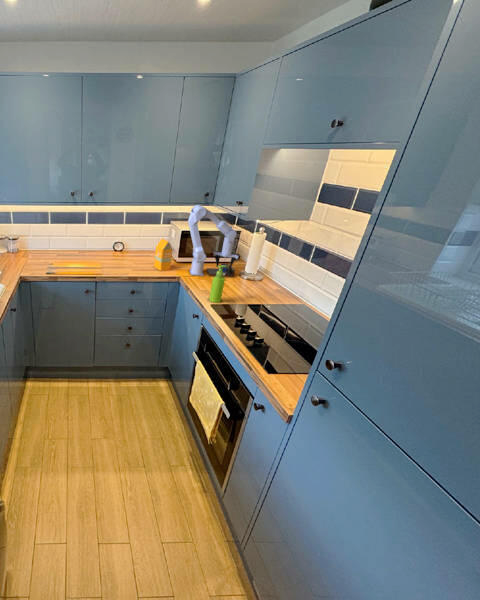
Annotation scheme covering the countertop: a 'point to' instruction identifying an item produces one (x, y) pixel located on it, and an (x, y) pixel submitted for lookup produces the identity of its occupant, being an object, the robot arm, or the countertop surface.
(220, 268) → the soap dispenser
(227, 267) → the trainer
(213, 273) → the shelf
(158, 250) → the orange juice
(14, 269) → the countertop surface
